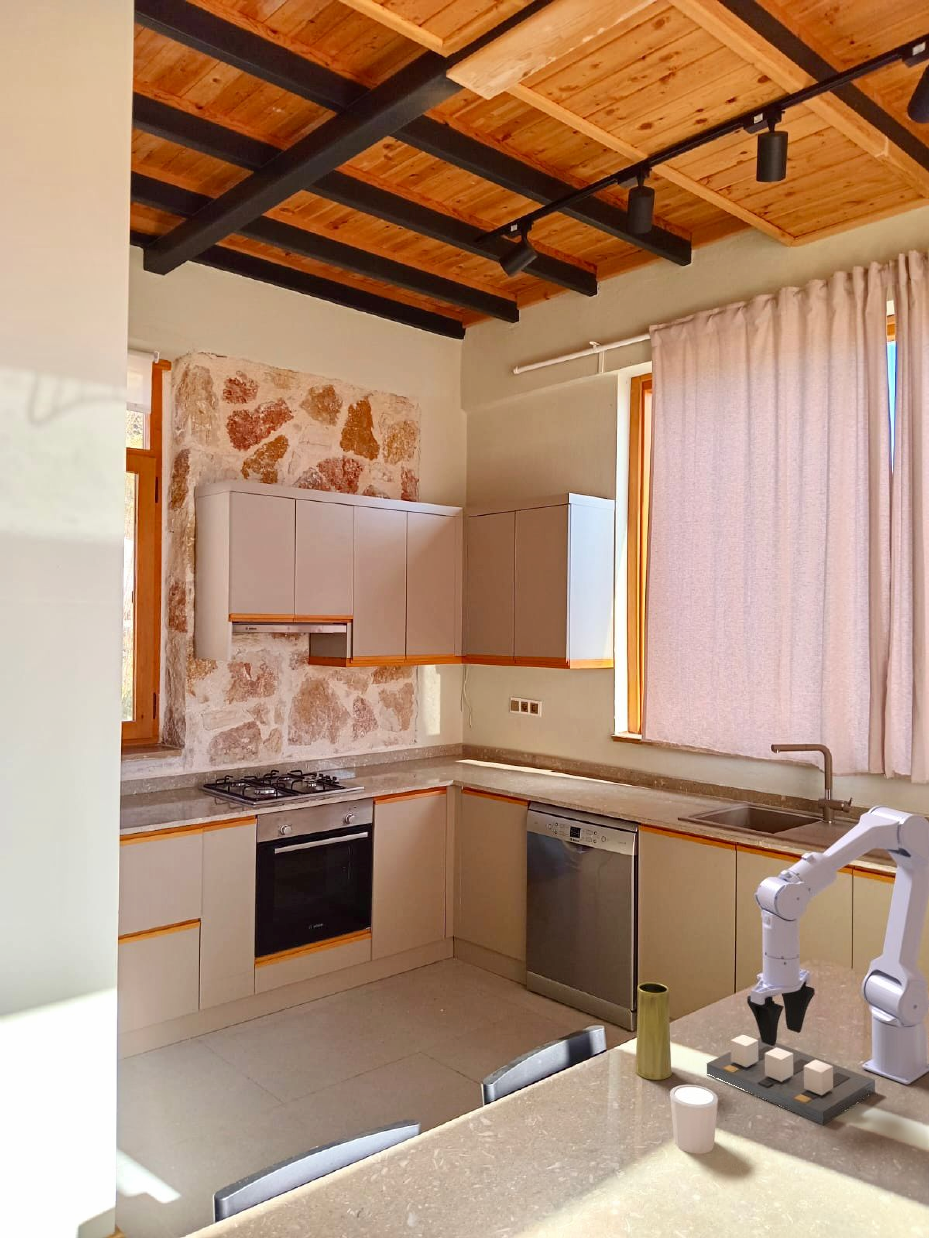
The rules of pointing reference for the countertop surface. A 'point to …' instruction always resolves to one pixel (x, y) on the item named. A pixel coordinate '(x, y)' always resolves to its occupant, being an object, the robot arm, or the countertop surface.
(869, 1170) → the countertop surface
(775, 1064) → the switch
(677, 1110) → the white cup
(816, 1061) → the switch
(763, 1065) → the console
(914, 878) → the robot arm
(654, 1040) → the vase
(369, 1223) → the countertop surface
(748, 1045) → the switch
